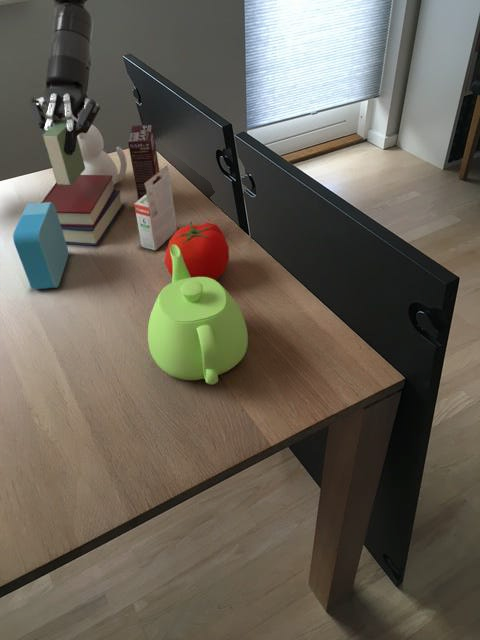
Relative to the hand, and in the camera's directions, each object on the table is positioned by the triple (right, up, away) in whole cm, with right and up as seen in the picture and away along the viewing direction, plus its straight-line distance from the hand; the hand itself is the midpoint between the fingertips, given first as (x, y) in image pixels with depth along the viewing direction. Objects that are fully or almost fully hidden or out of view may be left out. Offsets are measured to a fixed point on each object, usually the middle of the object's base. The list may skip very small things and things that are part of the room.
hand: (59, 152), depth 101 cm
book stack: (+1, -11, +13) cm, 17 cm away
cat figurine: (+2, 0, +25) cm, 25 cm away
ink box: (+18, -16, +7) cm, 25 cm away
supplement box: (+15, -6, +18) cm, 24 cm away
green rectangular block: (+1, -3, +6) cm, 6 cm away
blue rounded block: (-1, -23, 0) cm, 23 cm away
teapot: (+27, -36, -16) cm, 48 cm away
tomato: (+27, -24, -3) cm, 36 cm away
